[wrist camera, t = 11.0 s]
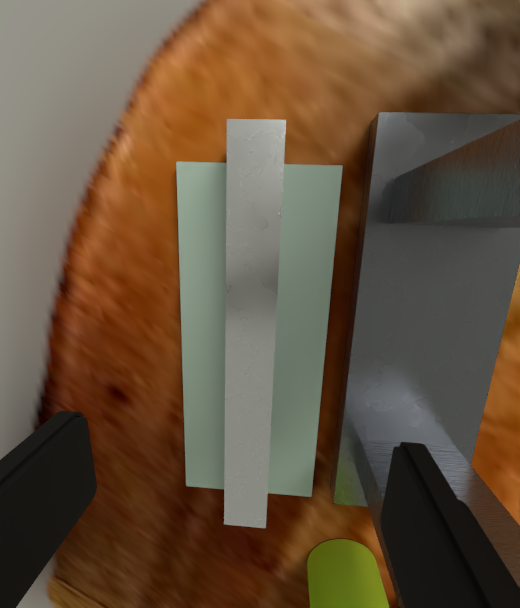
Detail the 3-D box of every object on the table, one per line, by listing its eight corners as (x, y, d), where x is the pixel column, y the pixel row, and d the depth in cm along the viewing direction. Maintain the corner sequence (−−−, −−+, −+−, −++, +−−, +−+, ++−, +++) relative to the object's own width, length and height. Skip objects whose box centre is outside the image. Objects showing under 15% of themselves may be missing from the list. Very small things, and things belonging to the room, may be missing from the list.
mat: (179, 163, 19) (176, 161, 18) (340, 167, 18) (342, 165, 18) (188, 479, 24) (186, 486, 24) (310, 490, 24) (311, 497, 23)
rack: (370, 122, 17) (531, -73, 6) (532, 124, 17) (1021, -84, 6) (330, 487, 24) (374, 715, 12) (447, 497, 23) (601, 744, 12)
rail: (234, 134, 17) (226, 118, 15) (285, 135, 17) (286, 119, 15) (229, 494, 24) (224, 524, 21) (267, 497, 24) (265, 528, 21)
